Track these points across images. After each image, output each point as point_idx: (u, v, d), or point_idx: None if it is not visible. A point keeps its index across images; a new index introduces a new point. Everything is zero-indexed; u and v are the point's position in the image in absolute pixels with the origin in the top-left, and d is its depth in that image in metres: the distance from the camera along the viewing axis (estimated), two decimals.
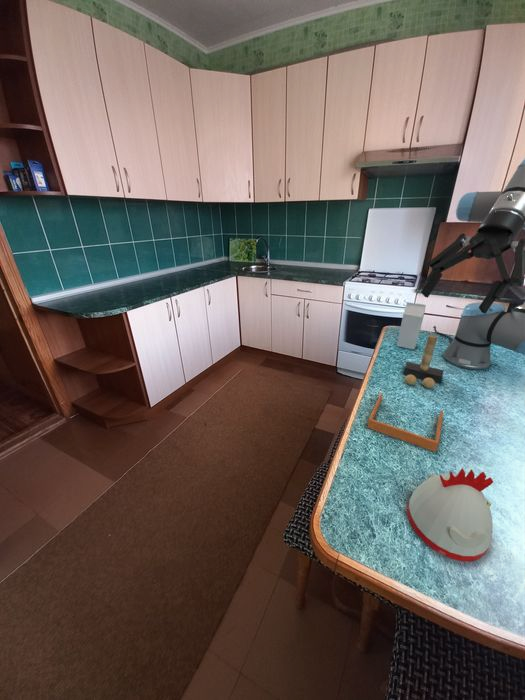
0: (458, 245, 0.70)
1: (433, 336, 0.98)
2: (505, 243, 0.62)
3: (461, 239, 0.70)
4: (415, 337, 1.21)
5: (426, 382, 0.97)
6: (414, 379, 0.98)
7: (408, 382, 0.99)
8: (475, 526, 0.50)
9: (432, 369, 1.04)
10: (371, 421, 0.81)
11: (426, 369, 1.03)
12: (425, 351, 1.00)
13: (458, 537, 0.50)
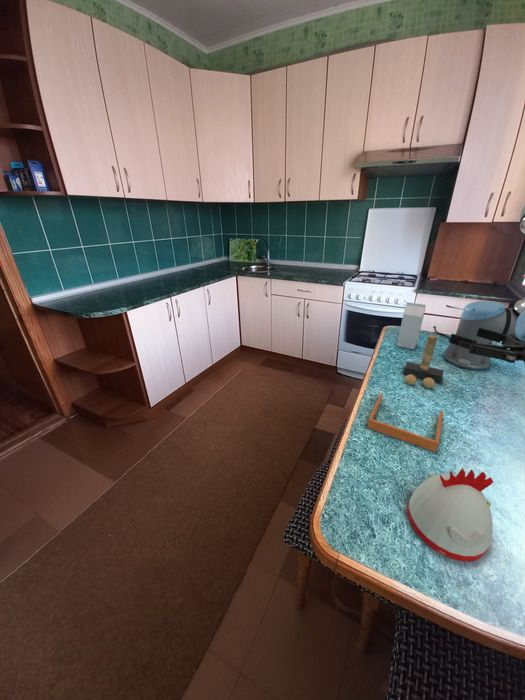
0: None
1: (433, 336, 0.98)
2: None
3: None
4: (415, 337, 1.21)
5: (426, 382, 0.97)
6: (414, 379, 0.98)
7: (408, 382, 0.99)
8: (476, 526, 0.50)
9: (432, 369, 1.04)
10: (371, 421, 0.81)
11: (426, 369, 1.03)
12: (425, 351, 1.00)
13: (458, 537, 0.50)
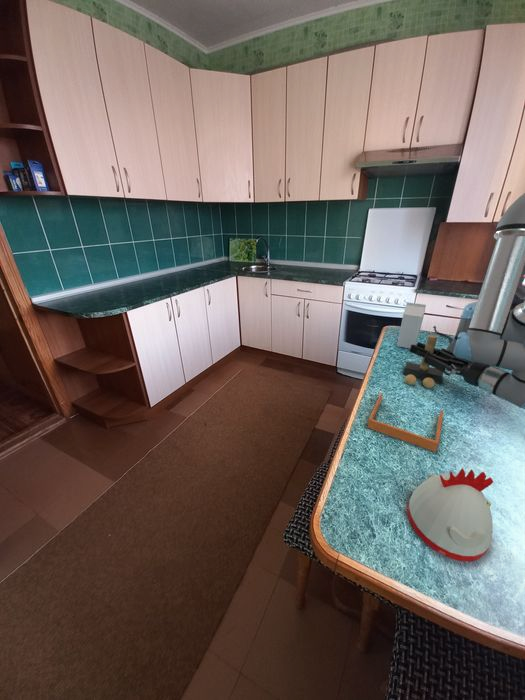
0: None
1: (433, 336, 0.98)
2: None
3: None
4: (415, 337, 1.21)
5: (426, 382, 0.97)
6: (414, 379, 0.98)
7: (408, 382, 0.99)
8: (475, 526, 0.50)
9: (432, 369, 1.04)
10: (371, 421, 0.81)
11: (426, 369, 1.03)
12: None
13: (458, 537, 0.50)
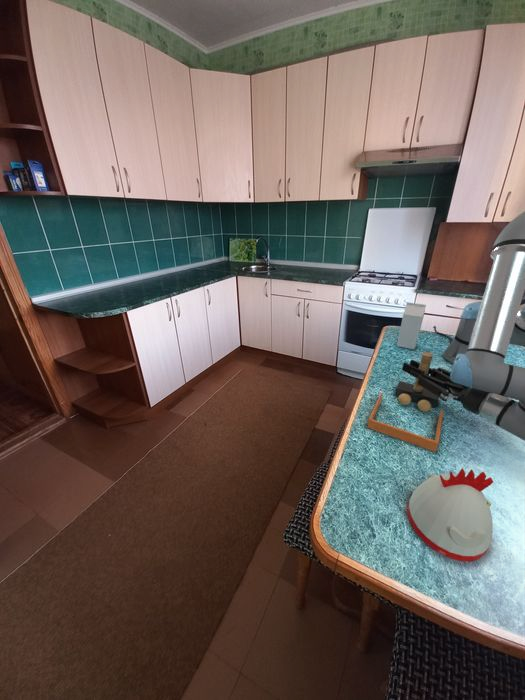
0: None
1: (428, 354, 0.86)
2: None
3: None
4: (415, 337, 1.21)
5: None
6: (407, 402, 0.89)
7: None
8: (475, 526, 0.50)
9: (427, 390, 0.92)
10: (371, 421, 0.81)
11: (420, 390, 0.91)
12: None
13: (458, 537, 0.50)
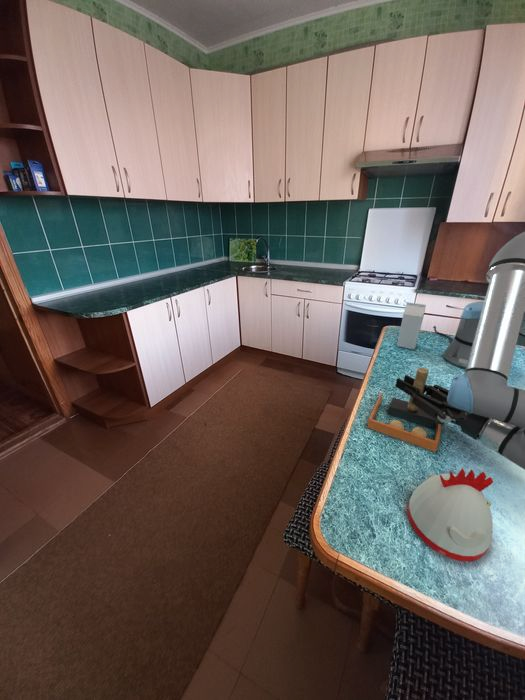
0: None
1: (423, 371, 0.78)
2: None
3: None
4: (415, 337, 1.21)
5: None
6: None
7: None
8: (475, 526, 0.50)
9: None
10: (371, 421, 0.81)
11: (415, 409, 0.83)
12: None
13: (458, 537, 0.50)
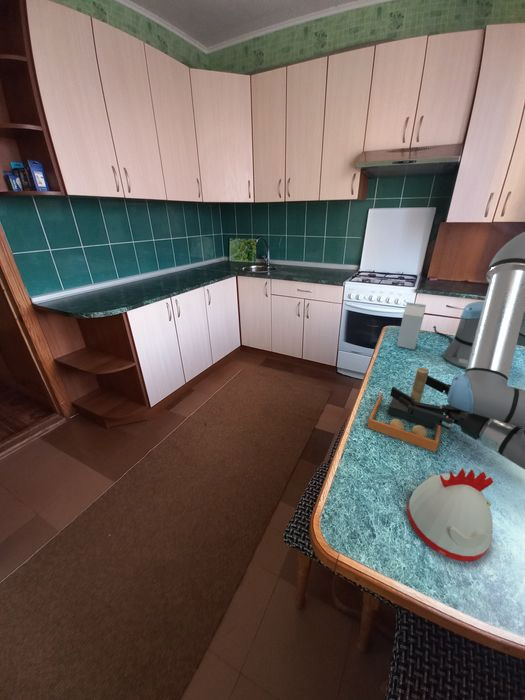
0: None
1: (423, 371, 0.78)
2: None
3: None
4: (415, 337, 1.21)
5: None
6: None
7: None
8: (476, 526, 0.50)
9: None
10: (371, 421, 0.81)
11: None
12: (414, 388, 0.81)
13: (458, 537, 0.50)
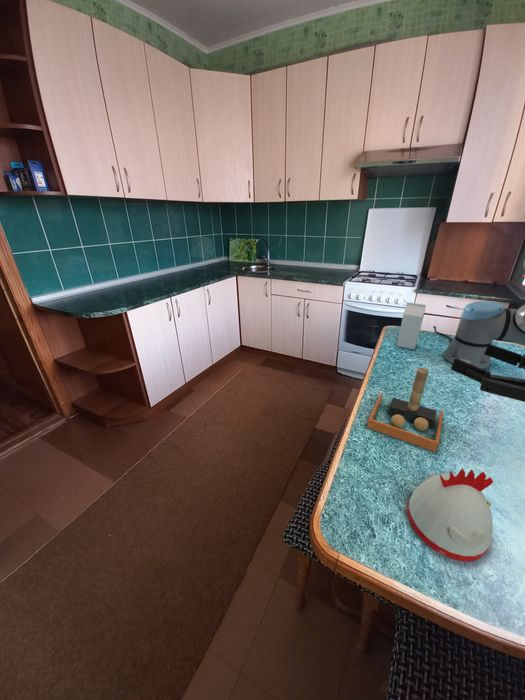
0: None
1: (423, 371, 0.78)
2: None
3: None
4: (415, 337, 1.21)
5: (417, 426, 0.80)
6: (401, 426, 0.80)
7: None
8: (475, 526, 0.50)
9: (422, 408, 0.84)
10: (371, 421, 0.81)
11: (415, 409, 0.83)
12: (414, 388, 0.81)
13: (458, 537, 0.50)
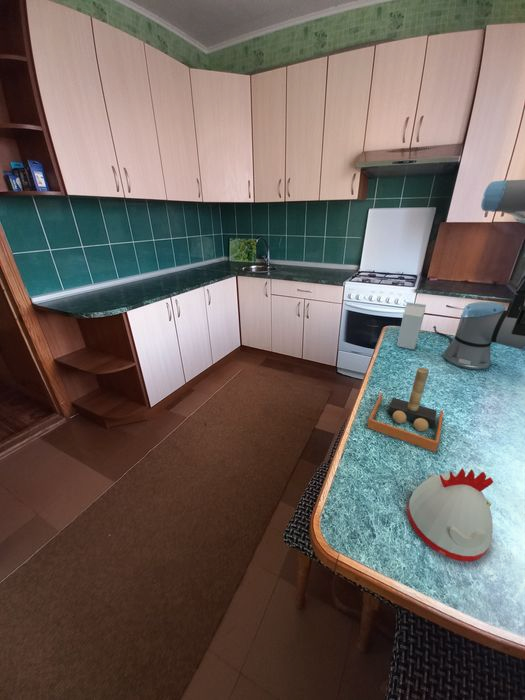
0: None
1: (423, 371, 0.78)
2: None
3: None
4: (415, 337, 1.21)
5: (417, 427, 0.79)
6: (403, 417, 0.82)
7: (396, 420, 0.82)
8: (475, 526, 0.50)
9: (422, 408, 0.84)
10: (371, 421, 0.81)
11: (415, 409, 0.83)
12: (414, 388, 0.81)
13: (458, 537, 0.50)
